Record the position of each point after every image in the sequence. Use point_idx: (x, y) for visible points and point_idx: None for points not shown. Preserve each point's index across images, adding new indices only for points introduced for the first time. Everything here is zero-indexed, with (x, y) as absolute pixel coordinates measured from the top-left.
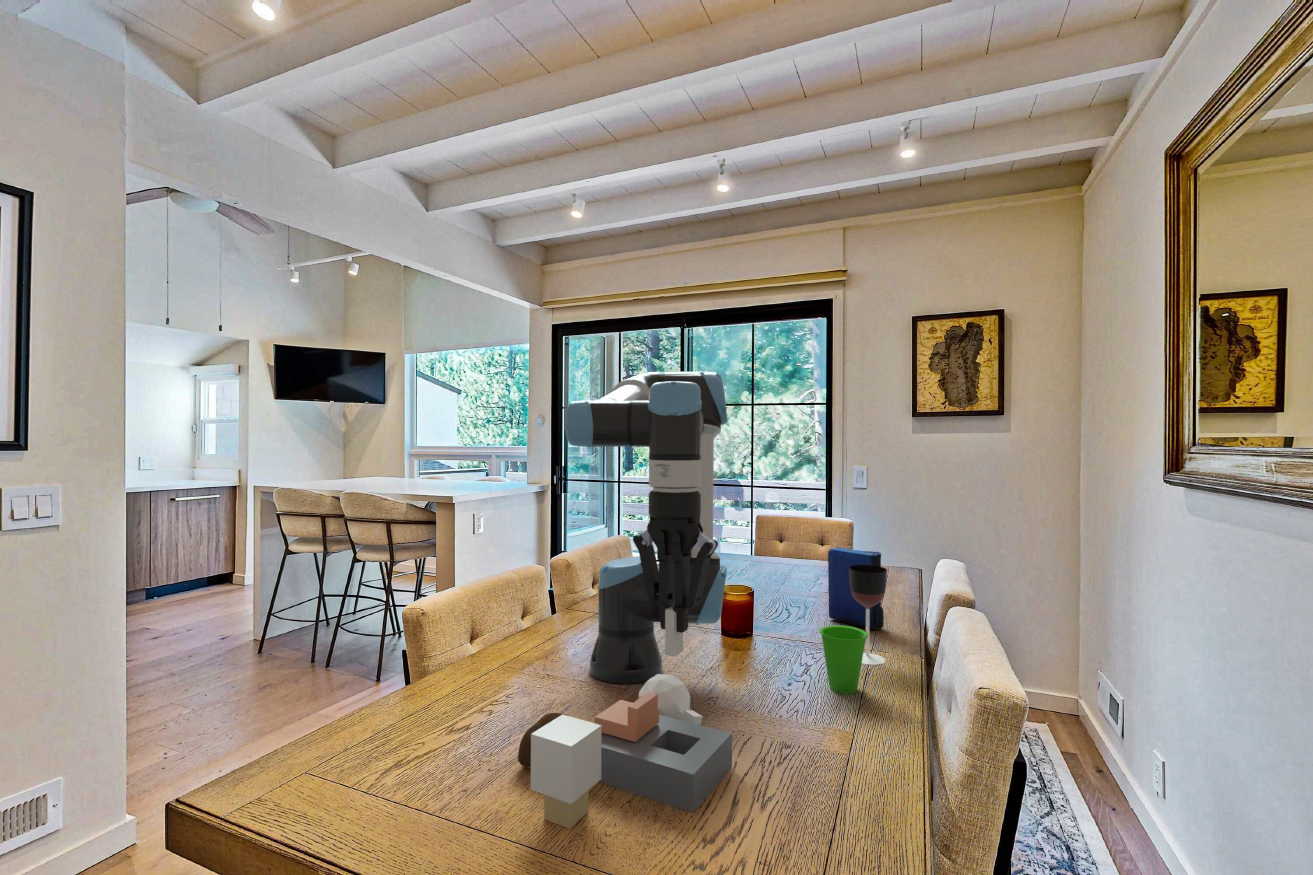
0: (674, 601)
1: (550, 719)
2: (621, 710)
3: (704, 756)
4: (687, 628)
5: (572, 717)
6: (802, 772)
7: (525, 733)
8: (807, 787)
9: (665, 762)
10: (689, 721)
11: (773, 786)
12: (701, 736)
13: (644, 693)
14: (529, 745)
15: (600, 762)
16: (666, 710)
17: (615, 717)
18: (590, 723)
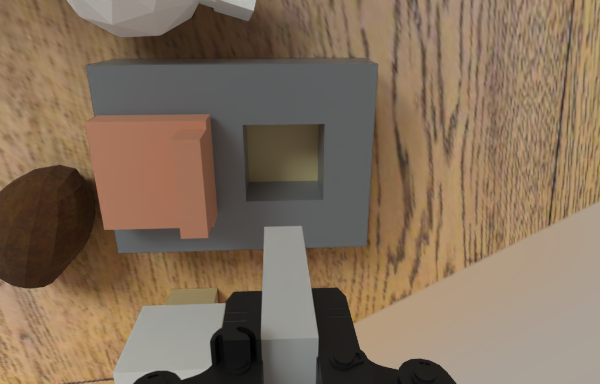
0: (261, 352)
1: (21, 264)
2: (131, 173)
3: (360, 185)
4: (341, 293)
5: (140, 371)
6: (495, 2)
7: (2, 279)
8: (510, 53)
9: (305, 238)
10: (241, 12)
11: (452, 82)
12: (322, 115)
13: (90, 16)
14: (37, 287)
15: (222, 323)
16: (176, 22)
17: (144, 208)
18: (190, 373)
